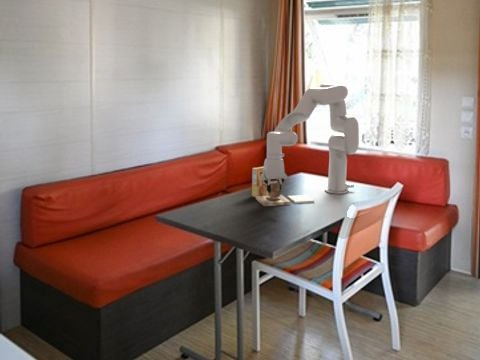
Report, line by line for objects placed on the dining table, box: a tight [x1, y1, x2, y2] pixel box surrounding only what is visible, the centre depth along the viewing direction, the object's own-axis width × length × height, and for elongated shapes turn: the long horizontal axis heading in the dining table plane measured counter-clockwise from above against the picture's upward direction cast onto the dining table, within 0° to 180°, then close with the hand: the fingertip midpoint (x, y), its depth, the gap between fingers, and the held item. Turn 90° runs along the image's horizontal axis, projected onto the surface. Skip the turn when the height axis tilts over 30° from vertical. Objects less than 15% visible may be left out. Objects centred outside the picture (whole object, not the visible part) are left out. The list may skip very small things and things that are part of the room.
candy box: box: [251, 165, 269, 198], centre depth 286 cm, size 9×4×15 cm, turn 129°
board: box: [287, 194, 315, 205], centre depth 280 cm, size 10×12×1 cm
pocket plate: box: [255, 194, 292, 207], centre depth 276 cm, size 14×14×2 cm
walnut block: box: [267, 180, 281, 198], centre depth 275 cm, size 4×4×7 cm
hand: (273, 191), depth 275 cm, fingers closed on walnut block, 4 cm apart
